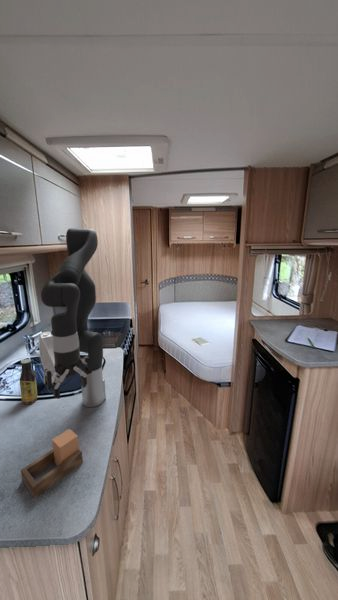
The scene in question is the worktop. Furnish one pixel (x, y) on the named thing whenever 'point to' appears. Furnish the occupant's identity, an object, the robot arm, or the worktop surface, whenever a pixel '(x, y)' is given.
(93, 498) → the worktop surface
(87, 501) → the worktop surface
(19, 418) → the worktop surface
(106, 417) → the worktop surface
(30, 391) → the sauce bottle
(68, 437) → the block
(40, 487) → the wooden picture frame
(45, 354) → the skyscraper
